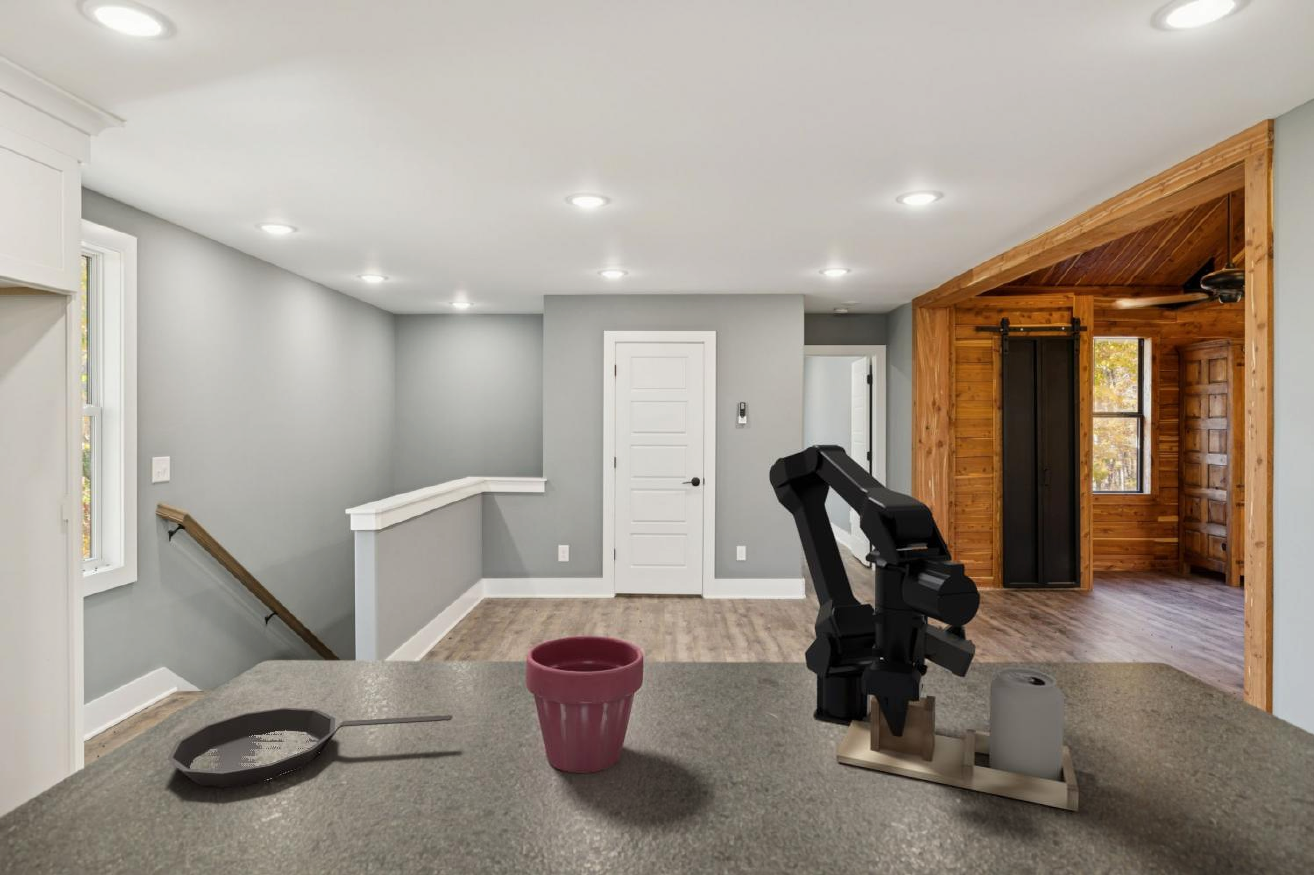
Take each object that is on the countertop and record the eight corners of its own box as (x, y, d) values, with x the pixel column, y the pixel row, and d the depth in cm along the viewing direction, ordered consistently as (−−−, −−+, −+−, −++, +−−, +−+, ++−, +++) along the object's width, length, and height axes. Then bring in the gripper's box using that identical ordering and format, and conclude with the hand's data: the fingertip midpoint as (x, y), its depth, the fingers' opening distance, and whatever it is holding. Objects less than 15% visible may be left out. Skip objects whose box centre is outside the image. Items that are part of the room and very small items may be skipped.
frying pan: (212, 730, 93) (212, 702, 92) (461, 717, 97) (461, 690, 97) (132, 803, 75) (131, 768, 75) (441, 782, 80) (441, 749, 80)
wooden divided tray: (836, 761, 84) (836, 705, 84) (852, 725, 94) (852, 675, 94) (1078, 811, 73) (1078, 747, 73) (1067, 765, 83) (1068, 708, 83)
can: (1070, 800, 76) (1072, 690, 76) (994, 789, 78) (996, 682, 78) (1052, 767, 83) (1054, 667, 83) (983, 758, 85) (985, 660, 85)
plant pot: (661, 743, 89) (662, 643, 89) (608, 796, 76) (608, 679, 76) (566, 722, 95) (566, 629, 95) (501, 768, 82) (501, 660, 82)
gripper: (969, 632, 74) (968, 779, 74) (972, 594, 91) (972, 713, 91) (860, 620, 79) (860, 758, 79) (883, 586, 96) (883, 699, 96)
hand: (898, 730), depth 86 cm, fingers closed on wooden divided tray, 3 cm apart
